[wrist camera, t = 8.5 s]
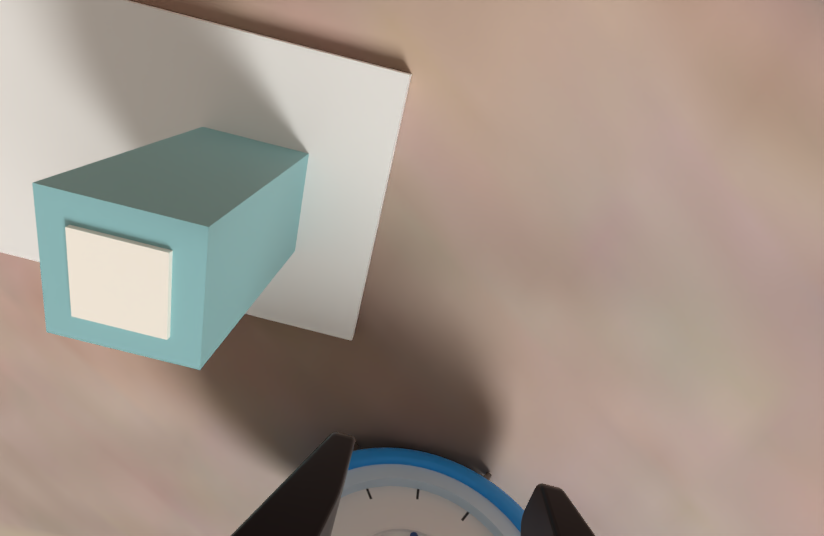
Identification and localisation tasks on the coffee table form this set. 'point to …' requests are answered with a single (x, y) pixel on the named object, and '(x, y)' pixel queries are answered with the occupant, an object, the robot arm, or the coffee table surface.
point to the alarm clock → (420, 498)
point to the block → (167, 242)
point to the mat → (202, 107)
